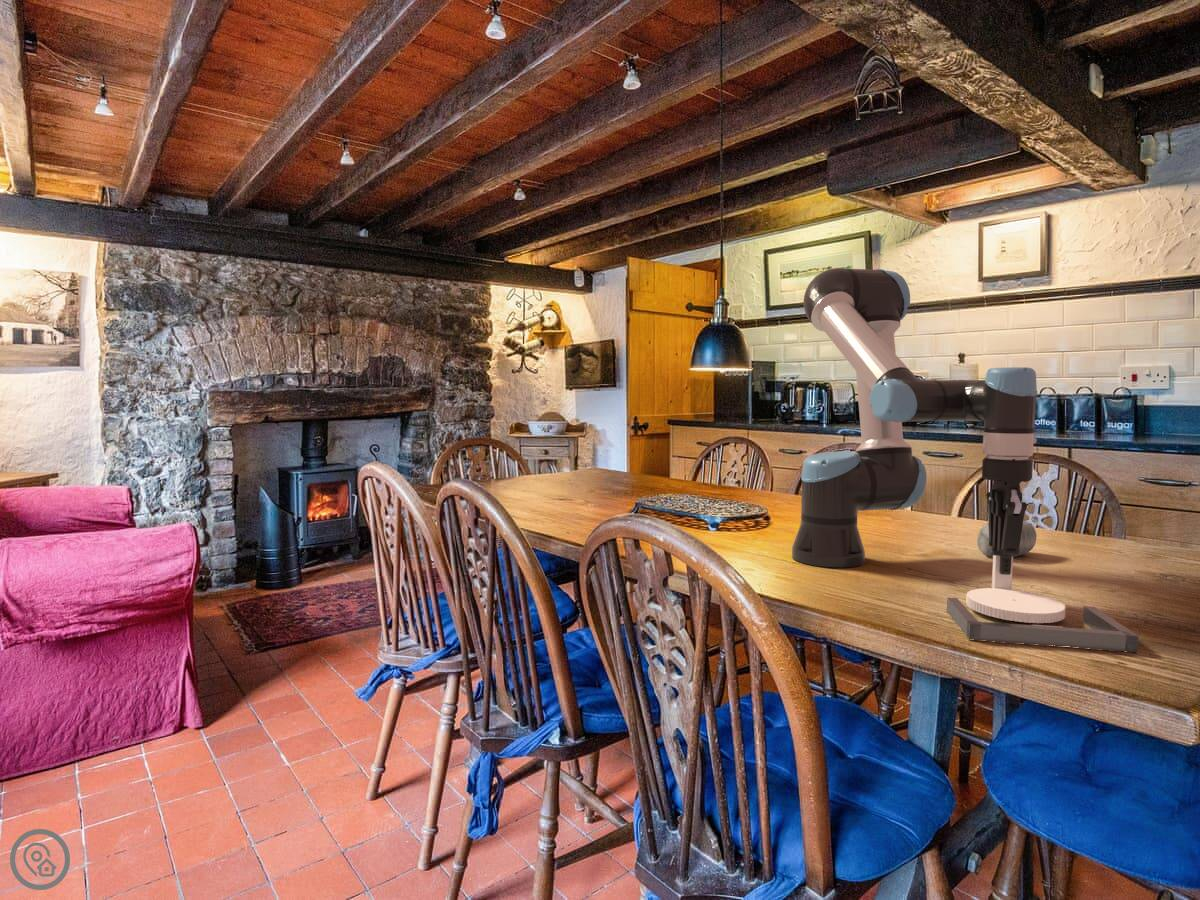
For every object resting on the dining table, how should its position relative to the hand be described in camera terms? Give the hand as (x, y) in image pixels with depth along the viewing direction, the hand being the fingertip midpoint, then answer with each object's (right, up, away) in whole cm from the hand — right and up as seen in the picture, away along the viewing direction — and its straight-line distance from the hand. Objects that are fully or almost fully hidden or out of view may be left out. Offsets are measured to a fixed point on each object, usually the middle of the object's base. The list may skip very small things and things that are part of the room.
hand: (1001, 590), depth 122 cm
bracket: (-4, -3, -15) cm, 16 cm away
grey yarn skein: (+20, +1, +33) cm, 39 cm away
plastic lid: (-2, -3, -7) cm, 8 cm away
